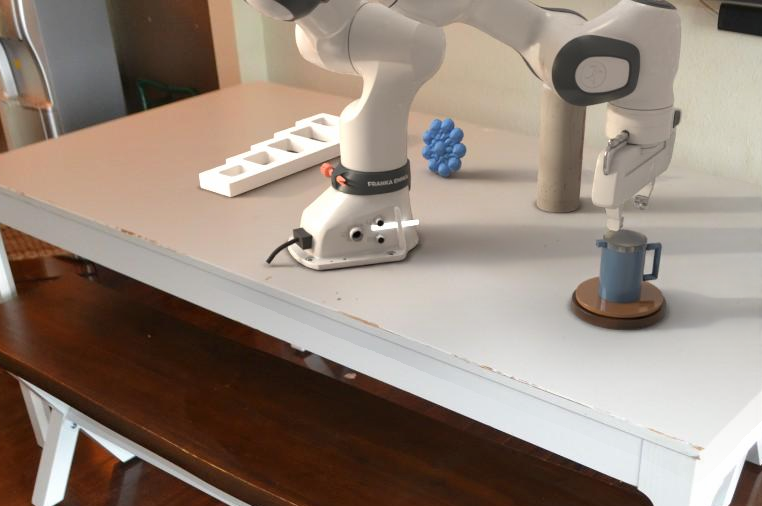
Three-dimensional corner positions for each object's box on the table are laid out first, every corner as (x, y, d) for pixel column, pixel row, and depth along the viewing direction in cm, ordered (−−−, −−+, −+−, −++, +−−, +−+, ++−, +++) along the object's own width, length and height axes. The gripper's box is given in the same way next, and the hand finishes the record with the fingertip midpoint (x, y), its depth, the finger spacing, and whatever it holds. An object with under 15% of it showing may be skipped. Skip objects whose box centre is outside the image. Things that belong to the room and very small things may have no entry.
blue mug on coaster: (593, 322, 141) (598, 260, 136) (563, 283, 152) (567, 224, 147) (677, 312, 144) (686, 251, 138) (642, 275, 154) (649, 217, 149)
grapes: (479, 178, 197) (480, 118, 190) (456, 186, 193) (456, 126, 186) (438, 164, 204) (438, 106, 197) (414, 172, 200) (414, 113, 193)
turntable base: (606, 338, 141) (607, 328, 140) (553, 299, 151) (554, 290, 150) (684, 317, 146) (685, 308, 145) (627, 281, 157) (628, 272, 156)
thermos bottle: (580, 198, 187) (592, 46, 172) (577, 214, 180) (588, 57, 165) (539, 196, 188) (546, 44, 173) (534, 211, 182) (541, 55, 167)
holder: (231, 197, 188) (229, 183, 187) (169, 177, 197) (167, 164, 196) (382, 139, 218) (382, 127, 217) (323, 124, 228) (322, 113, 226)
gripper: (629, 147, 125) (619, 247, 132) (687, 108, 140) (674, 200, 147) (584, 138, 128) (576, 237, 135) (645, 101, 142) (635, 192, 150)
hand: (628, 218), depth 141 cm, fingers open, 8 cm apart
